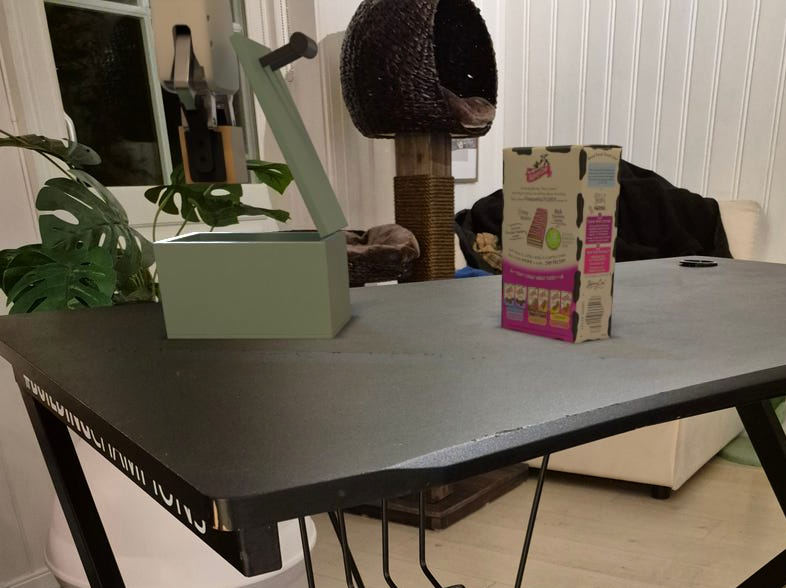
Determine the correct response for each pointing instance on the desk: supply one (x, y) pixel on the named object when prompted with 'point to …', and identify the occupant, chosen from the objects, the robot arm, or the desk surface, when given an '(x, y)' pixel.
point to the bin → (253, 284)
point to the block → (232, 154)
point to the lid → (291, 123)
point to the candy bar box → (560, 240)
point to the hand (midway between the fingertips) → (217, 179)
